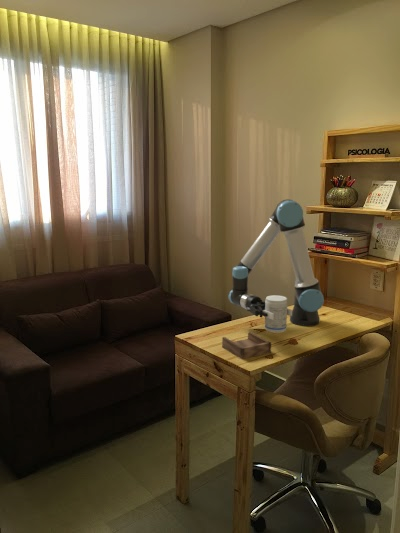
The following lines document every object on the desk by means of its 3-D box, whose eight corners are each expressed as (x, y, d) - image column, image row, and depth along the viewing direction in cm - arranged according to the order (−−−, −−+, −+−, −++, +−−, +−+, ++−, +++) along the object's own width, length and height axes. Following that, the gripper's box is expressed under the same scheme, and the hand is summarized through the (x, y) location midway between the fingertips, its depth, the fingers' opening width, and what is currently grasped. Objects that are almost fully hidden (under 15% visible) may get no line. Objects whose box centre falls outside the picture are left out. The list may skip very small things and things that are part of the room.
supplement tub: (264, 326, 207) (265, 294, 205) (285, 326, 206) (286, 295, 203) (265, 333, 198) (265, 300, 195) (287, 333, 197) (288, 301, 194)
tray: (249, 341, 207) (250, 332, 206) (270, 352, 194) (271, 342, 193) (222, 347, 200) (222, 337, 199) (241, 359, 187) (242, 348, 186)
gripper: (270, 307, 222) (301, 319, 203) (232, 314, 211) (261, 327, 192) (270, 292, 221) (302, 302, 201) (232, 298, 210) (262, 310, 191)
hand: (282, 314), depth 197 cm, fingers closed on supplement tub, 9 cm apart
